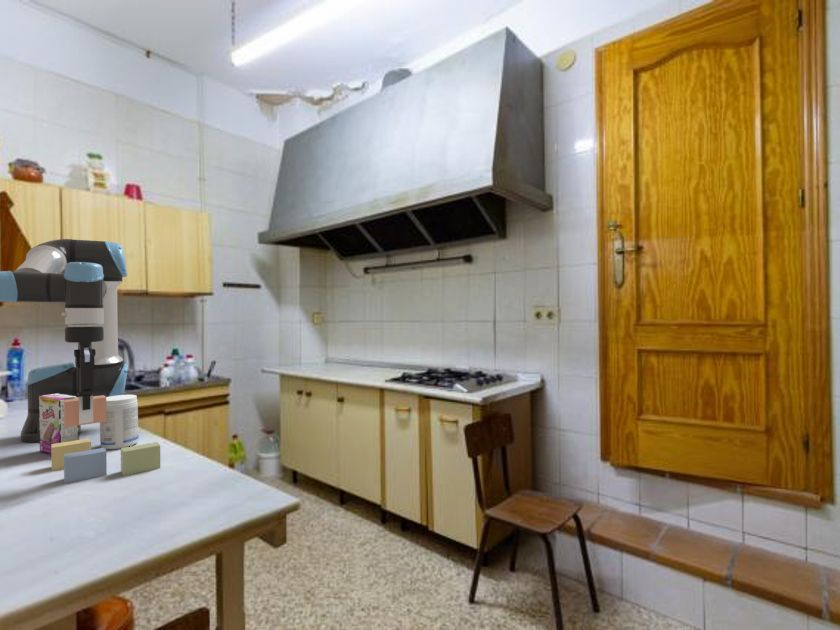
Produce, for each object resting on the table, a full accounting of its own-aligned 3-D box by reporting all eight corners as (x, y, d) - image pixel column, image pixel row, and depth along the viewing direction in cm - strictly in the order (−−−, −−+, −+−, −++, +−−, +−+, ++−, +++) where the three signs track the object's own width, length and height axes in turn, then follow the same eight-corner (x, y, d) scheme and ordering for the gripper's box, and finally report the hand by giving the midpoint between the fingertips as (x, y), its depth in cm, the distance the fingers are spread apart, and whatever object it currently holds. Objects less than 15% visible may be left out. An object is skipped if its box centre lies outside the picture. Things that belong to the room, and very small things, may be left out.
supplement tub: (136, 439, 138) (136, 393, 138) (140, 446, 131) (140, 397, 131) (98, 445, 132) (98, 396, 132) (100, 452, 125) (100, 401, 125)
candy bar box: (38, 452, 125) (37, 395, 125) (58, 447, 130) (58, 392, 130) (59, 457, 121) (59, 398, 121) (79, 452, 125) (79, 395, 125)
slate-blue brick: (64, 483, 102) (64, 458, 102) (64, 479, 105) (63, 454, 105) (106, 475, 107) (106, 451, 107) (104, 471, 110) (104, 447, 110)
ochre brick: (52, 471, 110) (51, 447, 110) (51, 467, 113) (51, 444, 113) (91, 463, 116) (91, 441, 116) (89, 460, 119) (89, 438, 119)
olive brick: (123, 476, 107) (123, 451, 107) (120, 471, 110) (120, 448, 110) (160, 468, 112) (160, 445, 112) (157, 464, 115) (156, 441, 115)
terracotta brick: (64, 427, 102) (64, 401, 102) (63, 424, 105) (63, 399, 105) (106, 421, 107) (106, 397, 107) (104, 418, 110) (104, 395, 110)
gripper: (62, 325, 110) (63, 417, 110) (66, 326, 97) (67, 430, 97) (99, 325, 115) (100, 413, 115) (107, 326, 102) (108, 424, 102)
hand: (85, 420), depth 106 cm, fingers closed on terracotta brick, 4 cm apart
